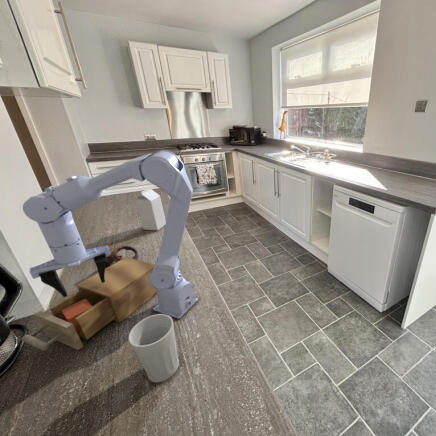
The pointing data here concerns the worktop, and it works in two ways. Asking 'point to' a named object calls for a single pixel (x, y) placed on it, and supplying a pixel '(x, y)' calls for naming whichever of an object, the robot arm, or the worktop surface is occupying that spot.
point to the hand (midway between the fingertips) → (84, 287)
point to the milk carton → (150, 210)
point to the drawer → (65, 331)
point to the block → (76, 312)
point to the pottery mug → (115, 258)
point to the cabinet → (123, 286)
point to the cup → (156, 346)
